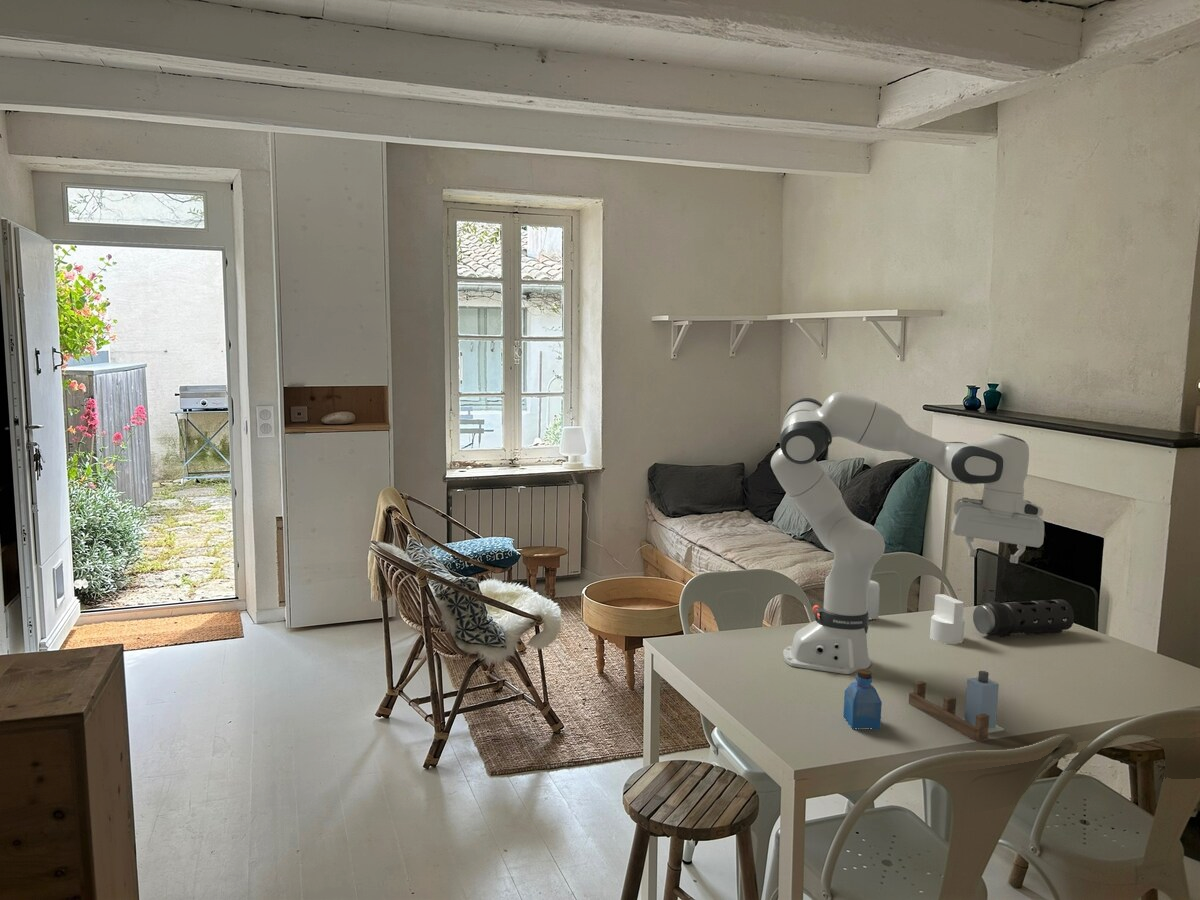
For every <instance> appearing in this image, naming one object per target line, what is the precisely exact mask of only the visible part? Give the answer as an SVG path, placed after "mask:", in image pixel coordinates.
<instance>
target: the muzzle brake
mask: <svg viewBox="0 0 1200 900" xmlns="http://www.w3.org/2000/svg"><path fill="white" fill-rule="evenodd" d="M972 613H973V614H972V619H973V620H972V621H973V625H974V627H975V629H976V631H978V632H979V633H980V634H982V635H987V636H991V637H992V636H993V637H996V636H997V637H999V636H1000V637H999V638H1006V637H1005V636H1010V637H1011V636H1012V635H1015V634H1025V635H1027V636H1029V635H1033V634H1034V635H1042V634H1056V633H1062V632H1063V631H1065V630H1066V631H1067V630H1069V629H1071V628H1072V627H1073V624H1074V620H1075V613H1074V610H1073V607H1072V606H1071V604H1070V603H1069V602H1068V601H1067V600H1065V599H1062V598H1061V599H1060V598H1059V599H1041V600H1026V601H1024V600H1023V601H1008V602H999V601H998V602H997V601H990V602H984V603H982V604H980V605H977V606H976V607H975V608H974V610H973V612H972Z"/></svg>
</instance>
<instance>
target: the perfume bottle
mask: <svg viewBox="0 0 1200 900" xmlns="http://www.w3.org/2000/svg"><path fill="white" fill-rule="evenodd" d="M856 673H857V674H856V675H855V681H856V682H854V681H852V682H851V683H850V684H849V685H848V686H847V688H846V689H845V690H844V697H843V698H844V702H843V713H842V714H843V716H842V717H844V718H845V719H846V720H845V719H844V718H843V719H844V720H845V722H846V721H847V722H848V723H847V722H846V723H847V724H848V726H849V725H850V726H851V727H850V726H849V727H850V729H851V728H852V729H851V730H859V729H858V728H869V729H868V730H880V729H881V722H882V721H881V720H882V719H881V718H882V703H883V701H882V700H881V698H880V696H879V693H878V692H877V689H876V688H875V687H874V686H873V684H872V683H873V676H872V674H873V672H872V670H871V669H868V668H866V669H858V670H857V671H856ZM853 728H854V729H853ZM855 728H857V729H855ZM870 728H872V729H870Z"/></svg>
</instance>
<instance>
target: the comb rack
mask: <svg viewBox="0 0 1200 900" xmlns="http://www.w3.org/2000/svg"><path fill="white" fill-rule="evenodd" d="M926 688H927V682H926V681H923V680H921V681H914V682H913V692H909V693H908V704H909V705H910V706H912V705H913V707H914V708H916V709H918V710H919V711H921V712H923V713H925V714H927V716H928V715H929V716H930V717H931V718H934V719H936V720H937V721H939V722H941V723H942V724H945V725H946V726H948V727H950V728H952V729H953V730H955V731H956V732H958V733H960V734H961V735H964V736H966V737H967V738H969V739H971V740H972V741H979V740H984V739H988V738H989V737H988V735H989V734H993V733H997V732H1002V731H1005V728H1003V727H1001V726H999V725H998V724H996V726H995V727H994V728H989V729H988V726H989V715H987V714H979V715H976V721H975V726H974V725H972V724H970V723H968V722H967V721H965V720H964V718H962V717H960V716H958V715H956V706H957V698H956V697H954V696H947V697H943V700H942V701H943V702H942V704H943V705H942V706H939V705H937V704H936V703H933V702H932V701H931V700H928V699H926Z"/></svg>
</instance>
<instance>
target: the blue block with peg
mask: <svg viewBox="0 0 1200 900" xmlns="http://www.w3.org/2000/svg"><path fill="white" fill-rule="evenodd" d="M989 675H990V674H989V671H987V670H979V671H978V675H977V677H976V676H975V677H970V678H967V680H966V681H967V682H966V692H965V693H966V695H965V696H966V697H965V707H964V718H963V719H964V720H965V721H967V722H968V723H970V724H972V725H974V726H975V721H976V715H979V714H987V715H989V726H988V729H989V728H994V727H995V726H996V725H997V709H998V700H999V699H998V697H999V685H1000V684H999V683H998V682H996V681H994V680H992V679H989Z"/></svg>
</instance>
